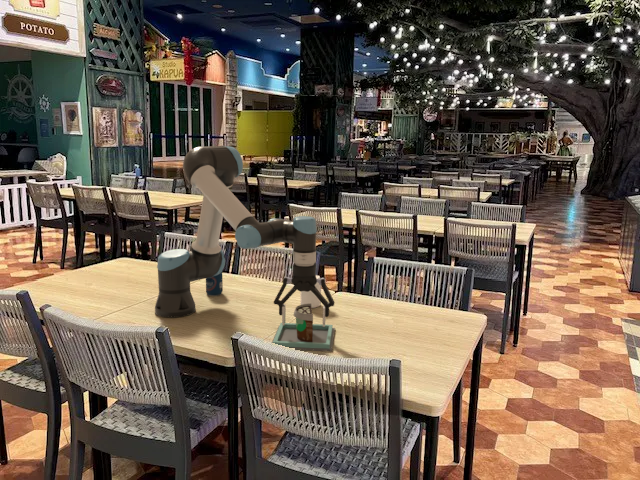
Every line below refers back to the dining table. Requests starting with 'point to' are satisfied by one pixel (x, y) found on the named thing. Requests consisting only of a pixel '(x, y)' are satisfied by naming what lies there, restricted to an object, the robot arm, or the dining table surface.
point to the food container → (304, 322)
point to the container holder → (320, 341)
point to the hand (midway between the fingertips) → (303, 324)
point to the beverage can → (311, 296)
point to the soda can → (214, 285)
